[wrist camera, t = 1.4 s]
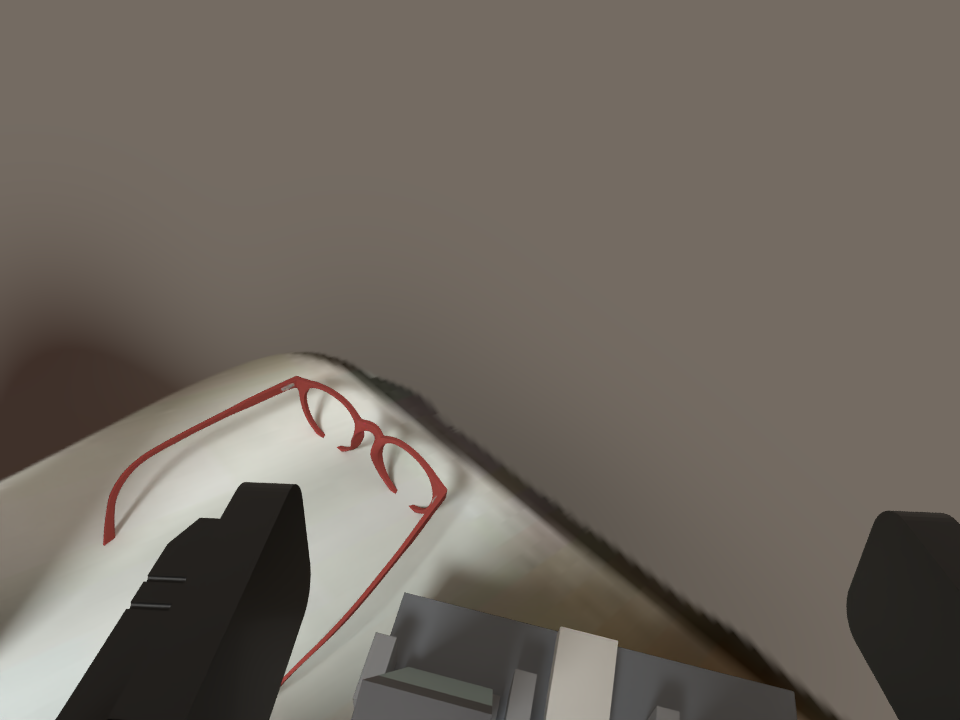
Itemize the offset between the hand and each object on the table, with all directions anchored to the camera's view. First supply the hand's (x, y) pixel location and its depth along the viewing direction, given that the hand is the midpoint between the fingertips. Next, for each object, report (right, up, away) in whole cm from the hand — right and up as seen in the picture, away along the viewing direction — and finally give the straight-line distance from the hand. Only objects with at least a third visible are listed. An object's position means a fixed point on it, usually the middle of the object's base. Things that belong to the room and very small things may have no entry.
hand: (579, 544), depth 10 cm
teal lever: (-3, -13, +21) cm, 25 cm away
